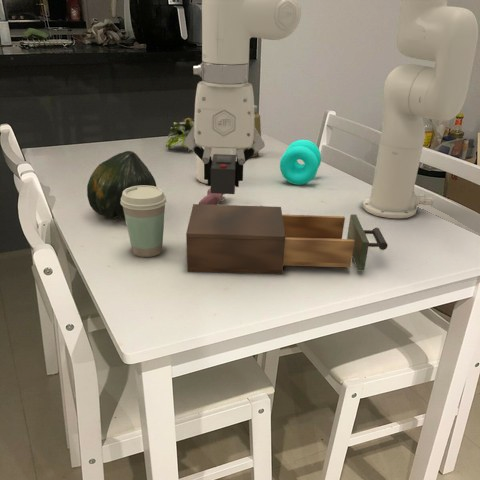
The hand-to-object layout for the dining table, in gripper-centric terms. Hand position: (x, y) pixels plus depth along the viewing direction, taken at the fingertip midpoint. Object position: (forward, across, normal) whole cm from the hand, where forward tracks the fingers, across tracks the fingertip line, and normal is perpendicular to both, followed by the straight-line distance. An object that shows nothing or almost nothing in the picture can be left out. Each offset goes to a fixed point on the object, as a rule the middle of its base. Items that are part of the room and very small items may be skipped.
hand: (223, 183), depth 97 cm
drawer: (+14, +20, 0) cm, 25 cm away
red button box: (0, 0, 0) cm, 0 cm away
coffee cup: (+15, -15, +1) cm, 21 cm away
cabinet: (+14, +3, 0) cm, 15 cm away
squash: (+15, -23, +20) cm, 34 cm away
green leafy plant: (+15, -14, +75) cm, 78 cm away
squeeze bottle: (+14, +5, +71) cm, 73 cm away
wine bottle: (+15, -4, +46) cm, 48 cm away
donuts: (+14, +19, +48) cm, 54 cm away
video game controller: (+15, -3, +28) cm, 32 cm away
